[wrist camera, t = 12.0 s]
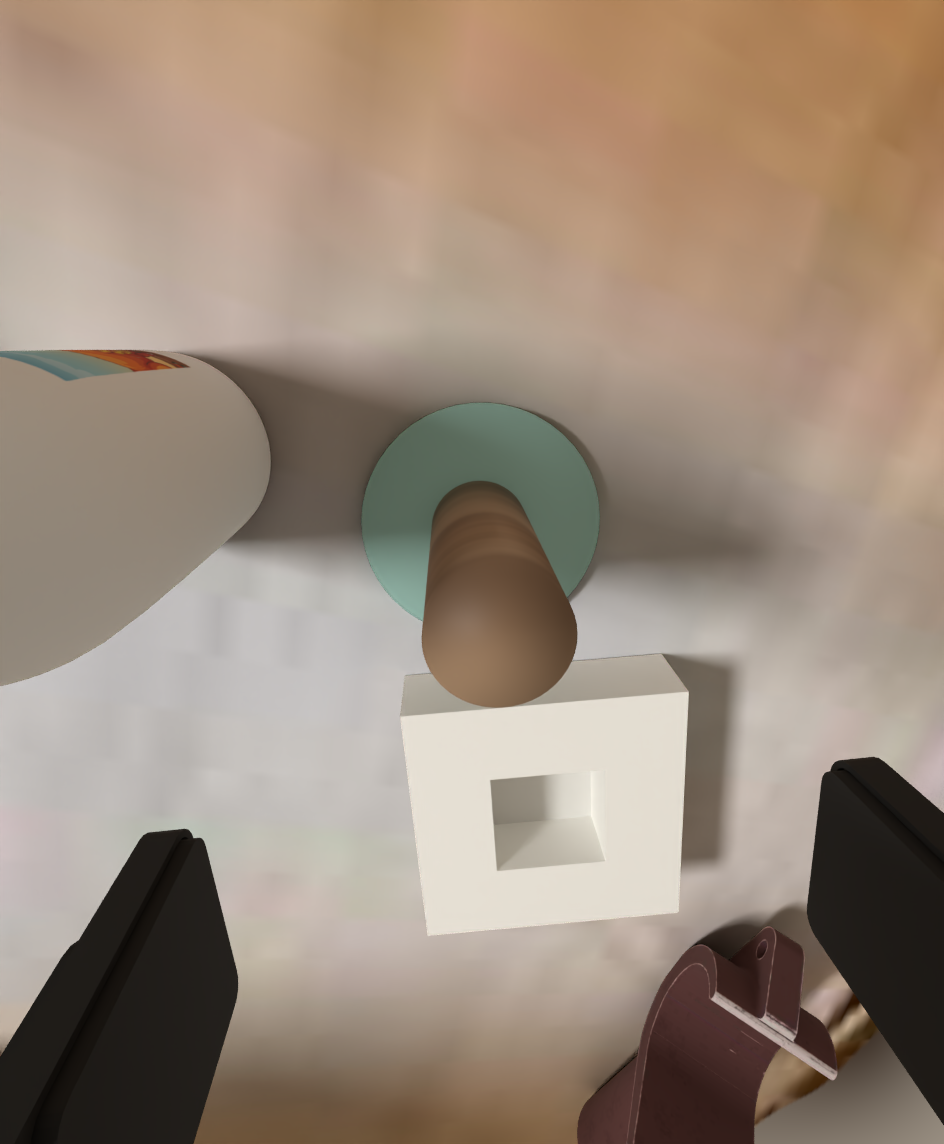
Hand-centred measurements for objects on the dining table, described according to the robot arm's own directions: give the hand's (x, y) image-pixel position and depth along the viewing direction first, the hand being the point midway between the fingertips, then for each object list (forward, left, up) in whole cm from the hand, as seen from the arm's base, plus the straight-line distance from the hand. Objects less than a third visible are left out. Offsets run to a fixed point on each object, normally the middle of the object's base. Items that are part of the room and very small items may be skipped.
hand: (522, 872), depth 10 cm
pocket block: (-13, -2, -19) cm, 23 cm away
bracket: (-30, -10, -19) cm, 37 cm away
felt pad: (0, 0, -19) cm, 19 cm away
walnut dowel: (0, 0, -18) cm, 18 cm away
